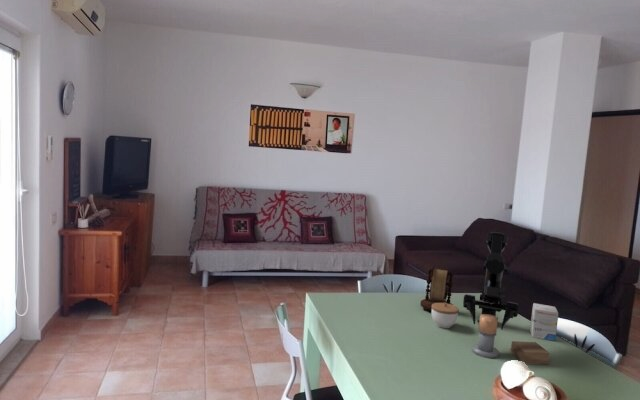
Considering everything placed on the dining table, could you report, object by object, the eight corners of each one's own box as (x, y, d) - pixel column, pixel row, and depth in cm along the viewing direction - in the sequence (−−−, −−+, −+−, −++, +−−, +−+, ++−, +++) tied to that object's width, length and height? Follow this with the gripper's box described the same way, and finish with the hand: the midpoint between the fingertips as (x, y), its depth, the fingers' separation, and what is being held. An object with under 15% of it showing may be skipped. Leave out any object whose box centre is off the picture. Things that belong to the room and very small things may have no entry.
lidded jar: (458, 332, 180) (460, 309, 179) (430, 328, 182) (432, 305, 181) (455, 322, 191) (458, 300, 190) (429, 318, 193) (431, 297, 192)
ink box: (552, 333, 186) (555, 306, 185) (555, 341, 178) (559, 312, 177) (529, 329, 189) (532, 302, 187) (531, 337, 181) (535, 308, 179)
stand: (510, 351, 165) (511, 341, 164) (534, 352, 165) (535, 342, 165) (523, 363, 156) (525, 352, 155) (548, 364, 157) (550, 353, 156)
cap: (479, 326, 166) (480, 312, 165) (496, 329, 163) (498, 316, 163) (477, 333, 158) (479, 319, 158) (496, 337, 156) (497, 323, 156)
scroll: (417, 311, 201) (421, 266, 199) (423, 301, 215) (427, 260, 213) (451, 317, 196) (456, 272, 194) (455, 308, 209) (459, 265, 207)
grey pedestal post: (478, 344, 169) (481, 324, 168) (502, 353, 163) (505, 332, 162) (467, 351, 163) (469, 329, 162) (491, 360, 156) (494, 338, 155)
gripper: (466, 272, 168) (460, 310, 159) (521, 281, 161) (519, 321, 152) (466, 288, 176) (460, 325, 167) (518, 297, 169) (515, 336, 160)
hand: (488, 326), depth 161 cm, fingers open, 9 cm apart
